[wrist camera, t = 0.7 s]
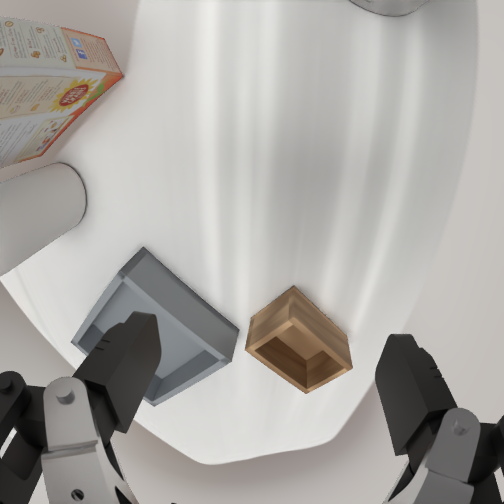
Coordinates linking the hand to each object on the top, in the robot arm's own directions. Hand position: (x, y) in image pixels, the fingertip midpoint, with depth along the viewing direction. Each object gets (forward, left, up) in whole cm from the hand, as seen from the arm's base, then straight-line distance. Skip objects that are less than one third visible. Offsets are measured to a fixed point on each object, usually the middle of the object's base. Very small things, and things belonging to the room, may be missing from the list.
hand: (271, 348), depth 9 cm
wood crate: (+8, +11, -18) cm, 22 cm away
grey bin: (+21, 0, -18) cm, 27 cm away
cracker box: (+7, -24, -18) cm, 31 cm away
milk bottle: (+16, -18, -18) cm, 30 cm away
